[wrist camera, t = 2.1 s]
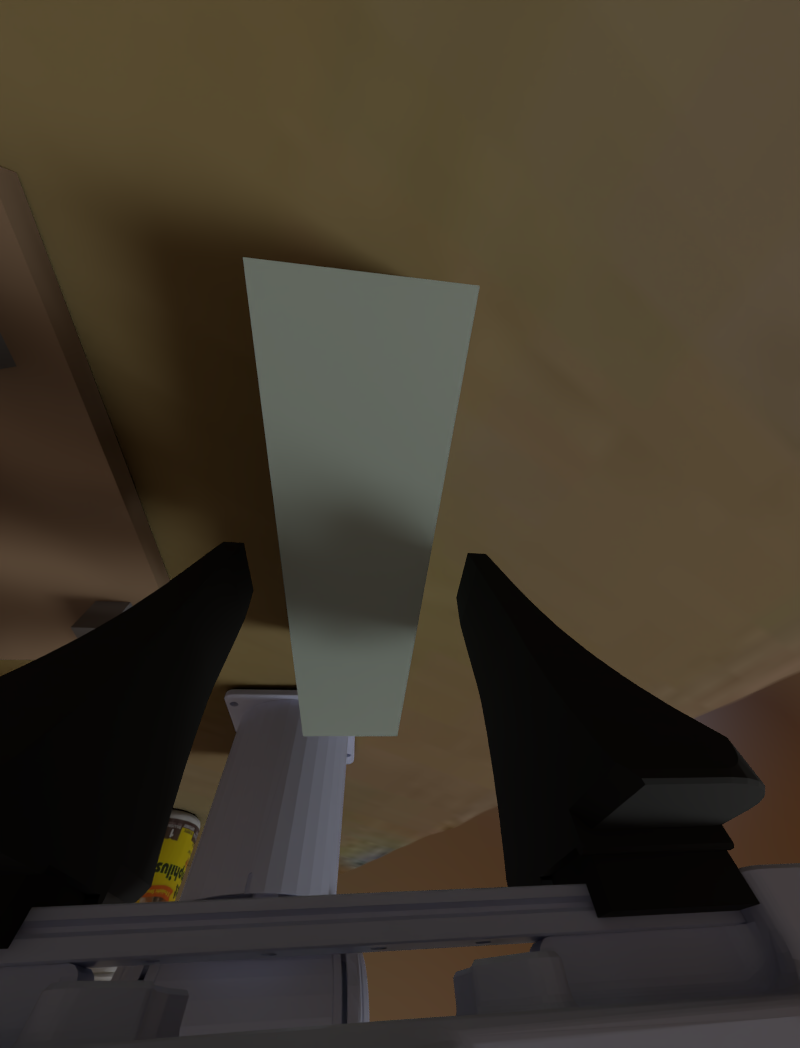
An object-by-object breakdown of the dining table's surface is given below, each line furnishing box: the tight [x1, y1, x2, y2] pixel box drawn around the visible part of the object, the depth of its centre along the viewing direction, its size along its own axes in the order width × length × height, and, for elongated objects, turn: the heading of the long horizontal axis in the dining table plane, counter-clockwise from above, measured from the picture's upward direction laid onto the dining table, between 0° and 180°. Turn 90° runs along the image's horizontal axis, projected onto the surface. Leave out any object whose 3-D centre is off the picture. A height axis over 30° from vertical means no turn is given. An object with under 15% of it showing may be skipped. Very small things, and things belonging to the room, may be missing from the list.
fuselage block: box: [243, 257, 479, 736], centre depth 12 cm, size 16×4×6 cm, turn 174°
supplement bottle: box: [89, 810, 200, 981], centre depth 28 cm, size 6×6×10 cm
